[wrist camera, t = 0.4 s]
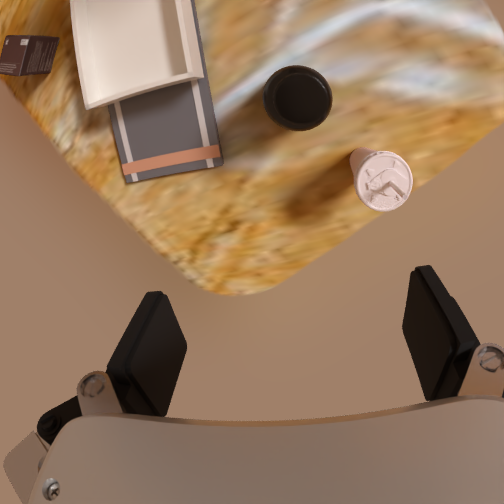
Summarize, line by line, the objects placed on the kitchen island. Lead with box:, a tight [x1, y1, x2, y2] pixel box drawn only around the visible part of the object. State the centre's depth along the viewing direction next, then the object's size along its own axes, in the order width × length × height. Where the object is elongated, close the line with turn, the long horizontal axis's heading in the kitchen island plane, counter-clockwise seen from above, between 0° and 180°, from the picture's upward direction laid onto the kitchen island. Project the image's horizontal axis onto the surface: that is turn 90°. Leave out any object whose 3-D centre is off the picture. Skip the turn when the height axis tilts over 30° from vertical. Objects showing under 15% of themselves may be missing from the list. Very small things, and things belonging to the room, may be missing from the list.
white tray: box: [70, 0, 204, 110], centre depth 26 cm, size 20×14×5 cm
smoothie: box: [349, 147, 413, 211], centre depth 31 cm, size 6×6×14 cm
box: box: [0, 35, 60, 76], centre depth 28 cm, size 6×6×7 cm
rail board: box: [108, 0, 224, 183], centre depth 32 cm, size 33×14×1 cm, turn 9°
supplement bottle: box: [263, 65, 332, 131], centre depth 29 cm, size 7×7×12 cm
